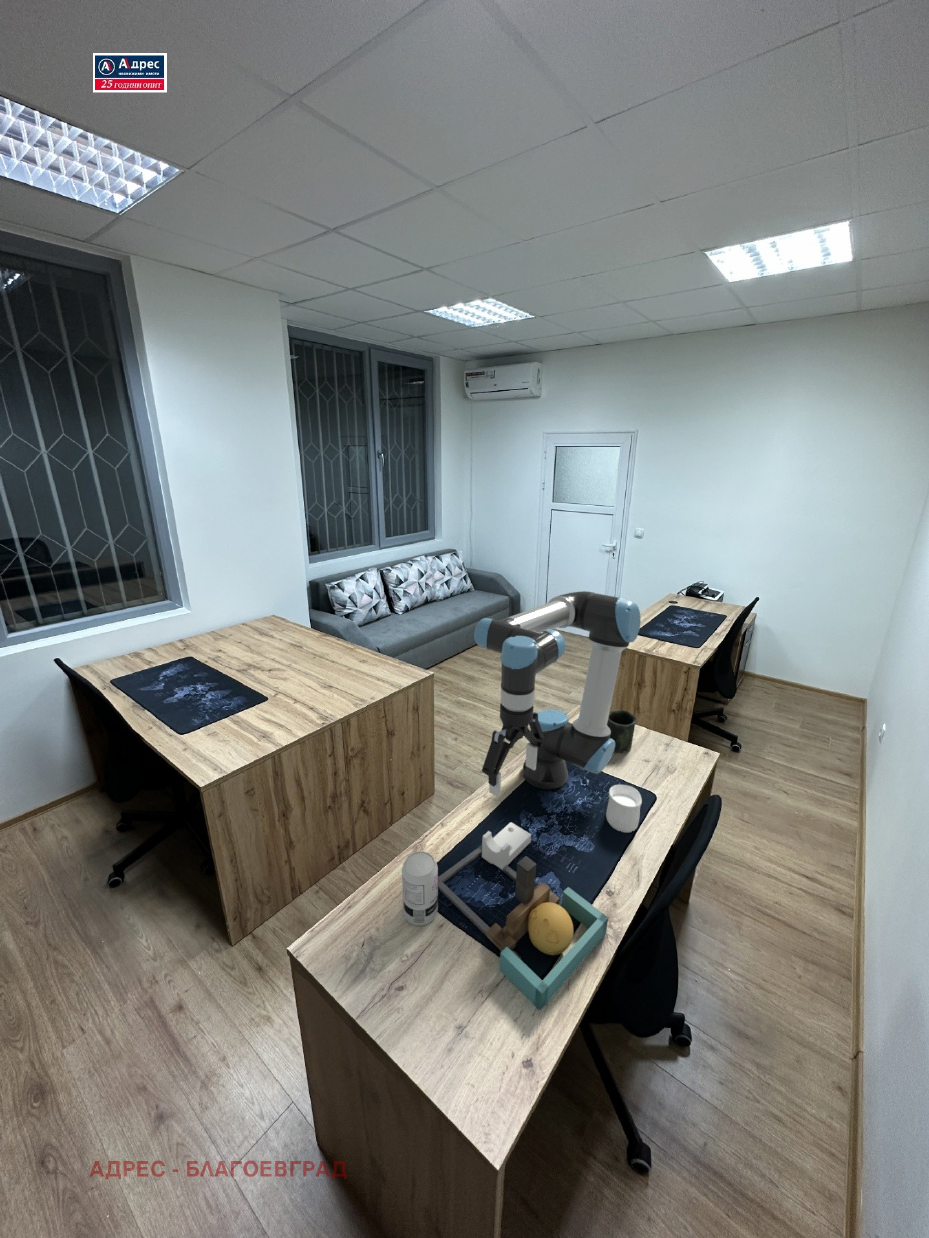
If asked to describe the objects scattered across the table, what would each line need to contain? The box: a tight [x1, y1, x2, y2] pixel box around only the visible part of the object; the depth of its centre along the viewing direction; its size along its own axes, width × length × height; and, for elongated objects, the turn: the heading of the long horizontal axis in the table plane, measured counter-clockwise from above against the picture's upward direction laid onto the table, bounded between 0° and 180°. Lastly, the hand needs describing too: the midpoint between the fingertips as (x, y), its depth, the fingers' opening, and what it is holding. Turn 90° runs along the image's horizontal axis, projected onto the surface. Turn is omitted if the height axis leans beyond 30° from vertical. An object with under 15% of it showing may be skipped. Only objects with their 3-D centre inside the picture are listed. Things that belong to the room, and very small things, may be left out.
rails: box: [438, 844, 522, 961], centre depth 120 cm, size 18×28×1 cm, turn 43°
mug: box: [607, 709, 638, 753], centre depth 182 cm, size 11×15×12 cm
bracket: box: [481, 822, 532, 871], centre depth 133 cm, size 13×7×8 cm, turn 139°
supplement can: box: [401, 851, 439, 927], centre depth 114 cm, size 8×8×15 cm
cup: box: [605, 784, 643, 834], centre depth 144 cm, size 10×10×10 cm
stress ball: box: [528, 902, 574, 956], centre depth 108 cm, size 10×10×10 cm
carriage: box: [485, 855, 561, 952], centre depth 111 cm, size 19×6×18 cm, turn 133°
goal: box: [499, 886, 609, 1012], centre depth 107 cm, size 24×11×5 cm, turn 133°
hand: (513, 780), depth 118 cm, fingers open, 13 cm apart
